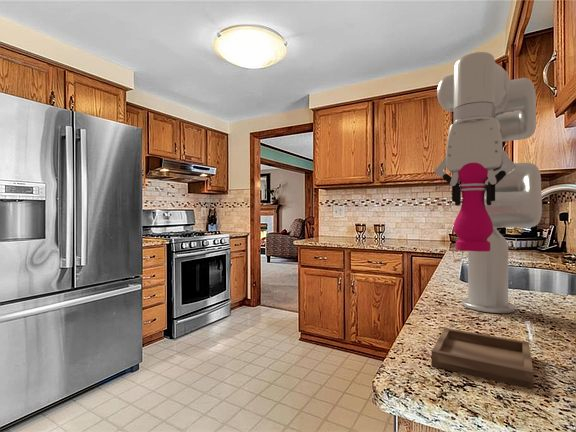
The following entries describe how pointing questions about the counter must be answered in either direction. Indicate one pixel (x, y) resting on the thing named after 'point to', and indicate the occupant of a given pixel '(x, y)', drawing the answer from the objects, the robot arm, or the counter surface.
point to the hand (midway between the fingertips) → (473, 204)
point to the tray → (484, 357)
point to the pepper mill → (473, 210)
